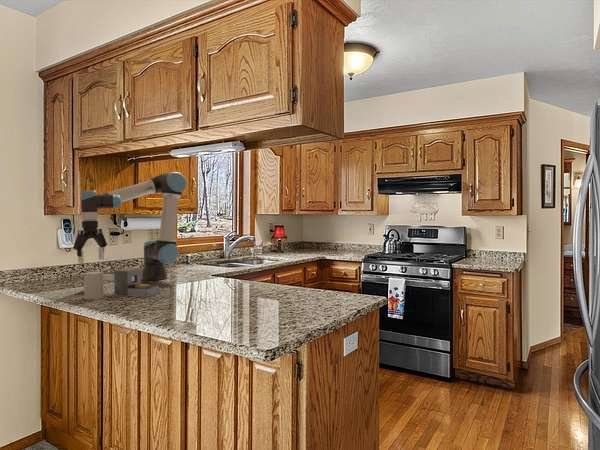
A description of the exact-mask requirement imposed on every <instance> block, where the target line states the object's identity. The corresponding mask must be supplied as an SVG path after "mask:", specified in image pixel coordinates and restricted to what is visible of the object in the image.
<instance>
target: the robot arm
mask: <svg viewBox="0 0 600 450" xmlns="http://www.w3.org/2000/svg"><path fill="white" fill-rule="evenodd" d="M186 187H187V180H186V177H185V175H184V174H182V173H181V172H177V171H171V172H165V173H161V174H159V175H155V176H154V177H151V178H148V179H146V181H142V182H140V183H137V184H132V185H128V186H126V187H121V188H119V189H115V190H112V191H108V192H104V193H102V194H99V193H98V192H97V191H96V190H82V191H80V204H81V205H80V207H81V208H80V210H81V220H82V221H81V228H82V229H83V230H81V229H79V230H77V234H76V239H75V241H74V244H73V247H72V249H73V250H75V251H76V255H77V263H78V264H83V263H84V264H85V262H84V261H85V260H84V249H83V248H84V247H85V244H86V243H87V241H88V240H89V239H93V240H94V241H95V242H96V243H97V245H98V260H103V261H104V260H105V248H106V247H107V246H108V243H107V241H106V238H105V236H104V234H103V229H102V228H98V227H99V221H98V220H99V216H98V214H99V213H98V210H102V209H103V210H104V209H108V210H109V209H110V210H112V209H113V210H114V209H119V208H121V206H122V203H123V202H124V203H125V202H127V201H130V200H134V199H137V198H139V197H140V198H141V197H143V196H146V195H150V194H151V195H156V194H159V193H161V195H162V196H163V201H162V210H161V219H160V227H159V228H160V229H159V235H158V238H157V239H155V240H149V241H144V243H143V269H142V271H141V281H159V280H166V279H167V278H168V273H167V270H166V267H165V265H166V264H167V265H168V264H169V265H170V264H173V263H175V262H176V261H177V259H178V257H179V254H180V251H179V250H180V249H179V248H178V247H177V244H178V243H177V240H176V239H175V236H176V226H177V217H178V216H177V215H178V207H179V199H180V198H181V197H183V196H182V195H183V191H184V190H186Z"/></svg>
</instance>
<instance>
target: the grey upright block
mask: <svg viewBox="0 0 600 450" xmlns="http://www.w3.org/2000/svg"><path fill="white" fill-rule="evenodd" d="M85 272H86V271H85ZM103 274H104V272H103V271H98V272H86V273H84V272H83V278H84V279H83V283H84V284H83V289H84V299H85V300H99V299H102V298H104V280H103Z"/></svg>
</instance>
